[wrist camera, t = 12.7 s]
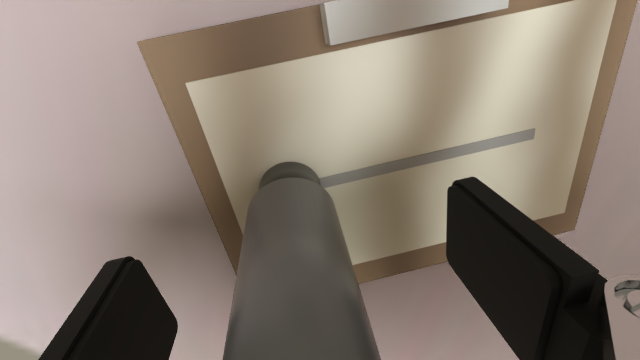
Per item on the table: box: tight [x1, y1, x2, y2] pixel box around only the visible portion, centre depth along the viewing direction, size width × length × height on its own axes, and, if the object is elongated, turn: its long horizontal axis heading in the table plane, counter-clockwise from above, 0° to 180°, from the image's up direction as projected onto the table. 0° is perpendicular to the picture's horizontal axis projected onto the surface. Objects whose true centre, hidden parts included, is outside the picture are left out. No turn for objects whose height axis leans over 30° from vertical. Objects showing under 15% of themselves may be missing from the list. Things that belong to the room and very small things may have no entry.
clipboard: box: [137, 0, 637, 284], centre depth 13 cm, size 18×13×2 cm
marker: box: [223, 162, 381, 360], centre depth 8 cm, size 3×3×12 cm
